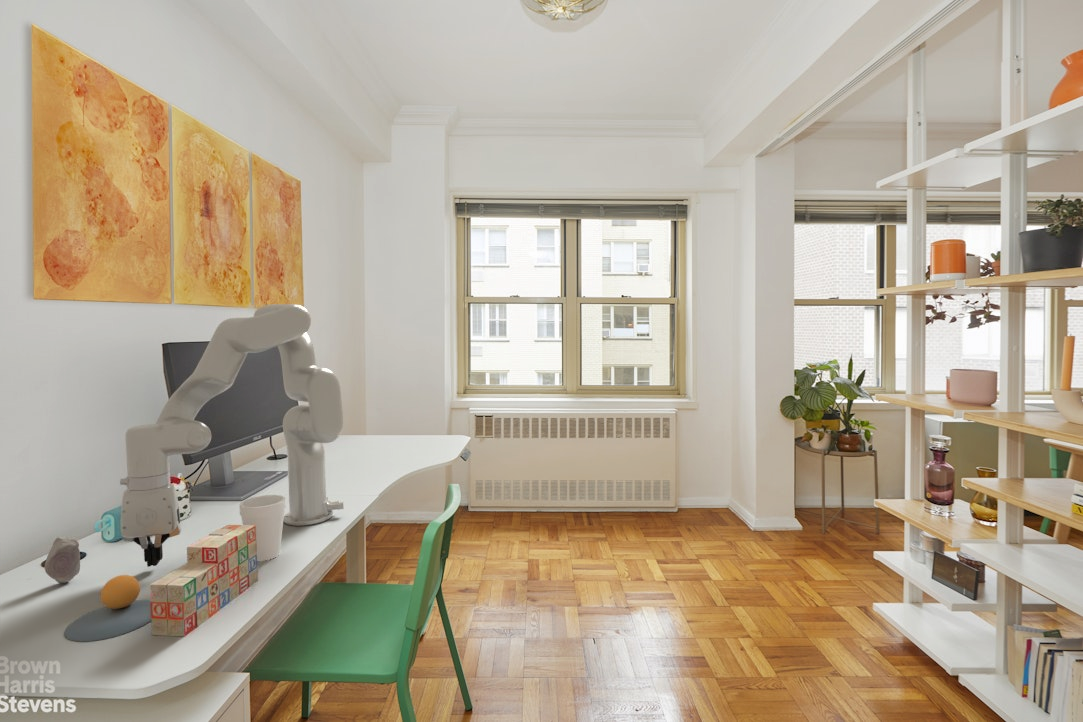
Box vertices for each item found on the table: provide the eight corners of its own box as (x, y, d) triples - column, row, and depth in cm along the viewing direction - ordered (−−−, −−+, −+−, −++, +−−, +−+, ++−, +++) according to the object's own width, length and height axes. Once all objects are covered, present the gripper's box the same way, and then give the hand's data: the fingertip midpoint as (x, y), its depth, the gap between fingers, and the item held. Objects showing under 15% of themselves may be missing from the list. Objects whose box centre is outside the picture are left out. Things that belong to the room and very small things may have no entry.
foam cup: (296, 550, 132) (294, 497, 132) (265, 566, 124) (262, 509, 123) (264, 545, 136) (262, 493, 135) (232, 561, 127) (230, 505, 126)
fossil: (48, 591, 113) (45, 543, 112) (41, 587, 115) (38, 540, 114) (83, 580, 118) (80, 534, 117) (76, 576, 119) (73, 531, 119)
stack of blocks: (185, 638, 96) (181, 568, 95) (151, 636, 96) (147, 567, 96) (258, 581, 117) (256, 524, 116) (230, 580, 118) (228, 523, 117)
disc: (171, 595, 111) (171, 594, 110) (147, 632, 97) (147, 631, 97) (85, 608, 106) (85, 607, 106) (48, 648, 93) (48, 647, 93)
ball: (145, 596, 110) (143, 567, 110) (134, 611, 104) (132, 581, 104) (109, 602, 108) (106, 572, 108) (96, 617, 102) (93, 586, 102)
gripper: (101, 490, 115) (106, 576, 116) (184, 482, 120) (188, 565, 121) (115, 480, 122) (120, 562, 123) (193, 474, 127) (197, 552, 128)
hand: (153, 563), depth 122 cm, fingers closed
